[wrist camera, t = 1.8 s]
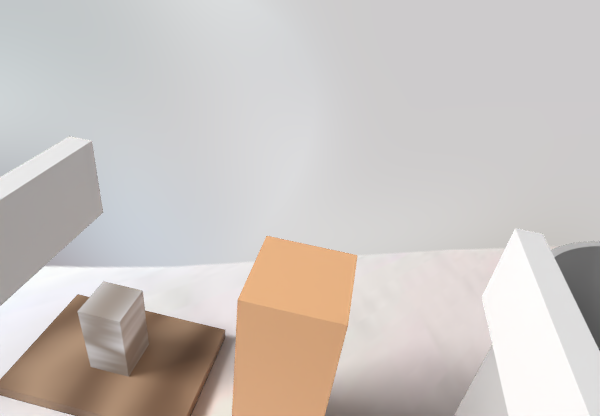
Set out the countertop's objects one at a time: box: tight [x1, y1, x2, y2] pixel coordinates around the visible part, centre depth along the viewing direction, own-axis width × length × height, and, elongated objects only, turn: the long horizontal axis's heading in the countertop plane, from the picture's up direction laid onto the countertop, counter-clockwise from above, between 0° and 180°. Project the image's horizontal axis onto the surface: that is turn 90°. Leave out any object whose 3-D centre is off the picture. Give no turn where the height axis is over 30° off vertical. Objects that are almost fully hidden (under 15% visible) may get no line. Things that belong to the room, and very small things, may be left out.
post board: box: [0, 281, 225, 416], centre depth 38 cm, size 16×11×8 cm
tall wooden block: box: [232, 236, 357, 416], centre depth 31 cm, size 6×6×18 cm
